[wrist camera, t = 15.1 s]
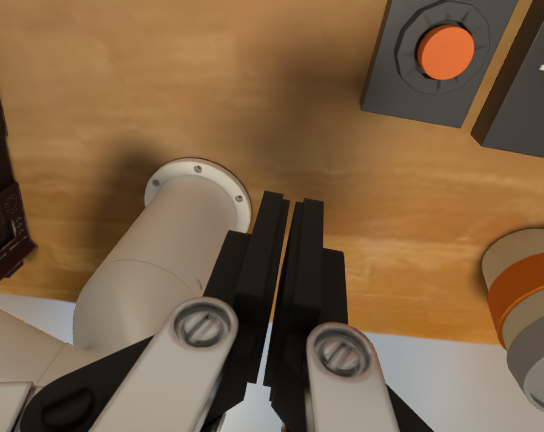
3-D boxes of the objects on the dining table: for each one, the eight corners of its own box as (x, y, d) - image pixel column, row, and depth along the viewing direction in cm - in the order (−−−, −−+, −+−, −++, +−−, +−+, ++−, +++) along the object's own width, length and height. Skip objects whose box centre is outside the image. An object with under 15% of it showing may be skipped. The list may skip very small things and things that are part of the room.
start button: (455, 78, 29) (461, 83, 28) (410, 70, 29) (414, 75, 28) (475, 28, 27) (483, 31, 26) (427, 20, 27) (432, 22, 26)
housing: (453, 120, 34) (467, 135, 31) (359, 103, 35) (362, 116, 31) (519, -32, 28) (545, -33, 24) (402, -52, 28) (412, -56, 25)
